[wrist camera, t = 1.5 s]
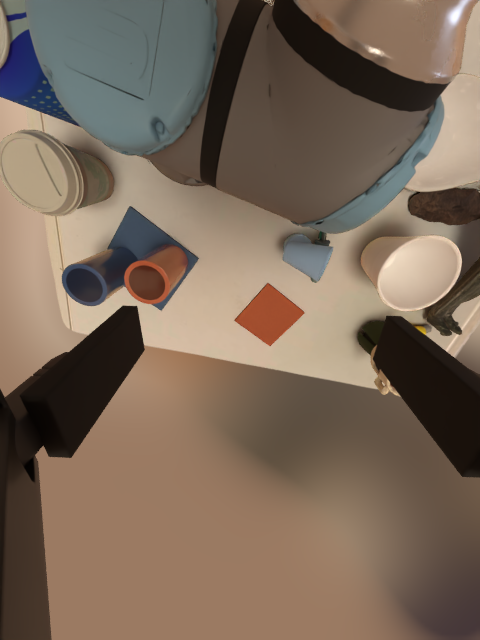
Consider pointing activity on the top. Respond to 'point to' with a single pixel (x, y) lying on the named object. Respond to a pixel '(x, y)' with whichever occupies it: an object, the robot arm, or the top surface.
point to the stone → (447, 206)
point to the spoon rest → (453, 140)
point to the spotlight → (306, 255)
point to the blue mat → (146, 242)
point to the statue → (455, 301)
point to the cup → (412, 269)
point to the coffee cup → (51, 173)
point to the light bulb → (424, 329)
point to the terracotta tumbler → (156, 274)
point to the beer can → (24, 65)
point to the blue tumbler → (97, 276)
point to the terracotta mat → (269, 315)
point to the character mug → (369, 345)
